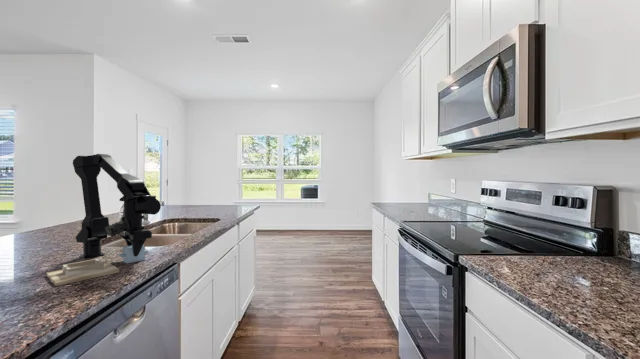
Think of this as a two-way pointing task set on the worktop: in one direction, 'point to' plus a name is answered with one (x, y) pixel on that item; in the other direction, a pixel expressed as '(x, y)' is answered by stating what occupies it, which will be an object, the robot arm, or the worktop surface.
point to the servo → (132, 254)
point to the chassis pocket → (81, 271)
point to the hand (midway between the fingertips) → (133, 255)
